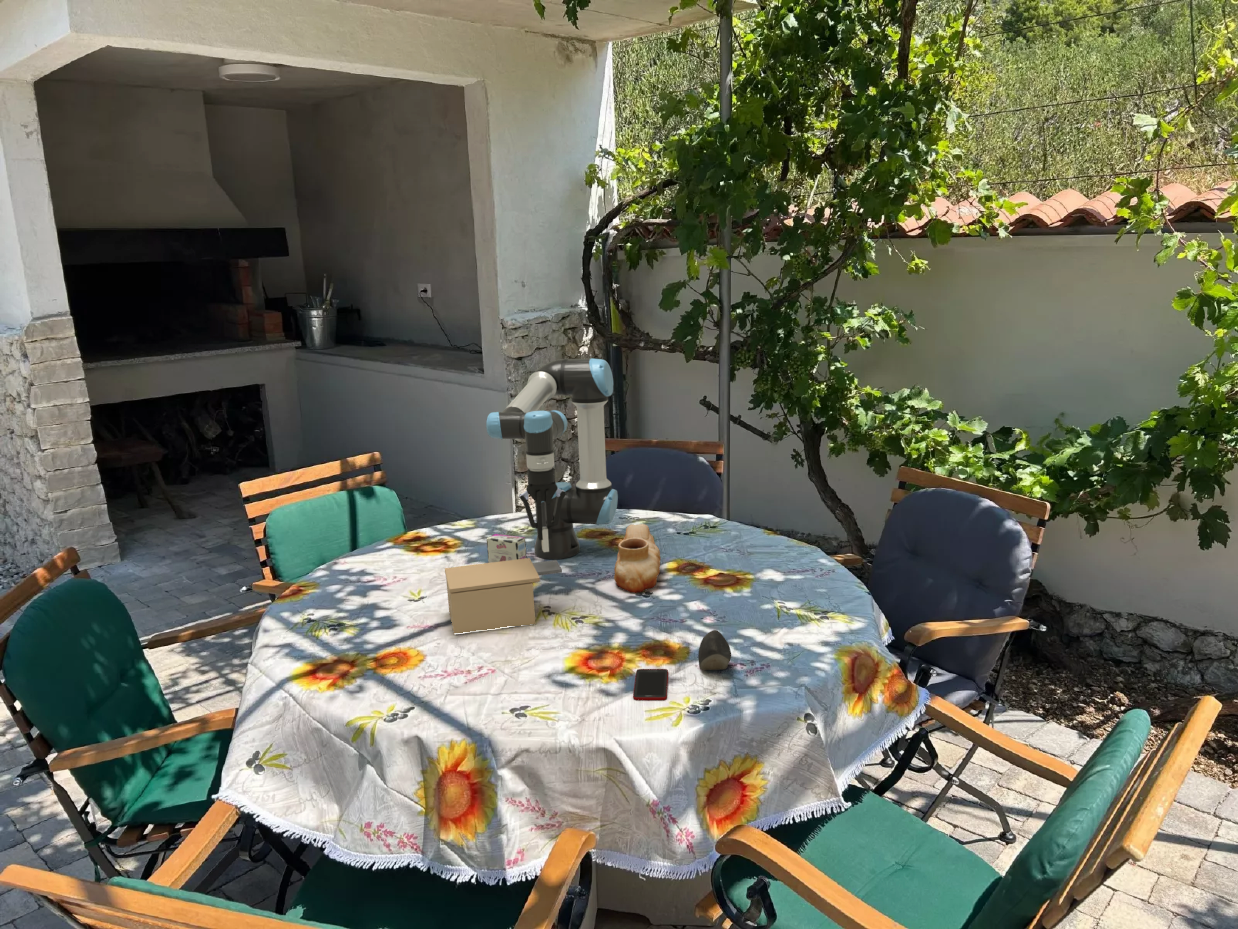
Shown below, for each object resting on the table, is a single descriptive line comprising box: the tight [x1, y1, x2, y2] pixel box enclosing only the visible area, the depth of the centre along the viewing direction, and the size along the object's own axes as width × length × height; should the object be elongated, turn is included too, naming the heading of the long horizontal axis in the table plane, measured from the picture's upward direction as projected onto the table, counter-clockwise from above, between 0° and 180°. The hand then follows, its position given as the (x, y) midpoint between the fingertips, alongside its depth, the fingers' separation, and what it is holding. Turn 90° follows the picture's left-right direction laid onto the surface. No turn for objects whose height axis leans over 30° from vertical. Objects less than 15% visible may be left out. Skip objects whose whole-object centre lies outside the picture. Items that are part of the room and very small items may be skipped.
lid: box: [444, 557, 563, 593], centre depth 260 cm, size 31×17×1 cm, turn 104°
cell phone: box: [632, 668, 669, 702], centre depth 219 cm, size 8×15×1 cm, turn 175°
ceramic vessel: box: [613, 523, 661, 594], centre depth 286 cm, size 14×26×15 cm, turn 175°
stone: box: [697, 629, 732, 671], centre depth 226 cm, size 8×8×10 cm
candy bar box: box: [486, 533, 528, 563], centre depth 281 cm, size 11×5×16 cm, turn 62°
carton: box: [445, 578, 536, 634], centre depth 260 cm, size 22×17×12 cm
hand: (545, 550), depth 261 cm, fingers closed
